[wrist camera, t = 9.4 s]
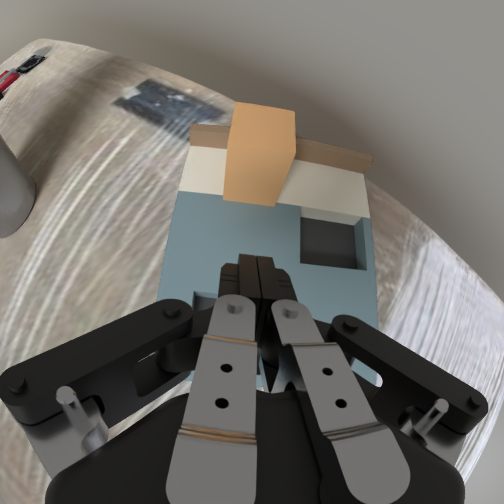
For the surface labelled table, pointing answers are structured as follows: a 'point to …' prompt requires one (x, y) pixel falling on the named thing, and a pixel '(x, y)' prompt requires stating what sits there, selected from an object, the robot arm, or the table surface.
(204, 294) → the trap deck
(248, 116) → the orange block
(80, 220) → the table surface
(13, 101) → the table surface
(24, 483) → the table surface
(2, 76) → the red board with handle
